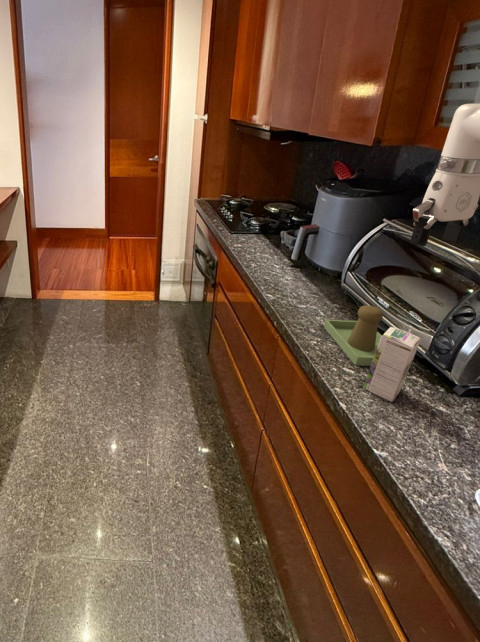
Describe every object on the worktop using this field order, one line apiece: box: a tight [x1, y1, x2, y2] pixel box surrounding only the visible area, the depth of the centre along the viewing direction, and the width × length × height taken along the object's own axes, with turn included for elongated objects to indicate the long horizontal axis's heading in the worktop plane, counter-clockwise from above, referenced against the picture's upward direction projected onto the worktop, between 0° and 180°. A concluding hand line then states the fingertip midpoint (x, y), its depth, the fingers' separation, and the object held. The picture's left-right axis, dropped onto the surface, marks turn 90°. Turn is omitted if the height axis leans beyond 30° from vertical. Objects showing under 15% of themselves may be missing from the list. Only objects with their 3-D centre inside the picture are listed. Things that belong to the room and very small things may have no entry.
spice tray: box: [323, 319, 383, 367], centre depth 102 cm, size 17×11×2 cm, turn 175°
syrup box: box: [362, 326, 422, 403], centre depth 84 cm, size 6×6×14 cm
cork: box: [348, 304, 384, 352], centre depth 100 cm, size 6×6×11 cm
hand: (434, 242), depth 88 cm, fingers open, 9 cm apart
